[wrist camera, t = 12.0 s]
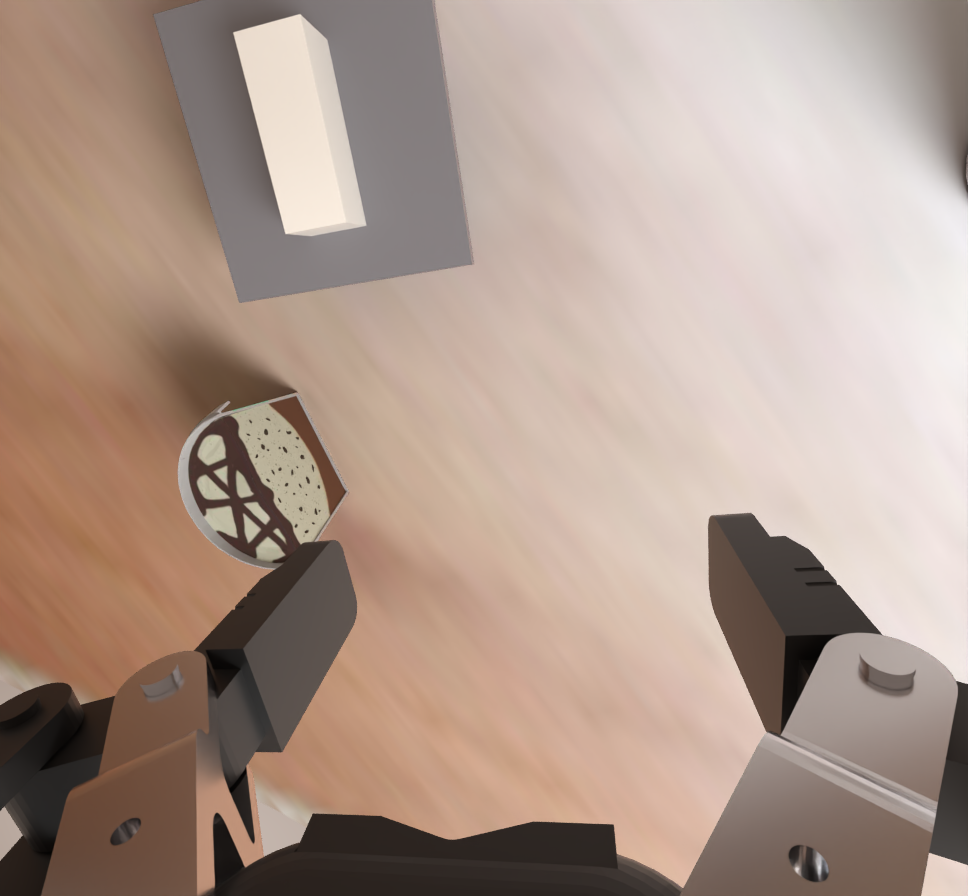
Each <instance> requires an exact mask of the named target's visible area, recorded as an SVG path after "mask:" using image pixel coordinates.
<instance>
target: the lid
mask: <svg viewBox="0 0 968 896" xmlns="http://www.w3.org/2000/svg"><path fill="white" fill-rule="evenodd" d="M153 16H154V19H155V22H156V26H157V29H158V32H159V36H160V39H161V43H162V46H163V49H164V53H165V56H166V59H167V63H168V66H169V69H170V73H171V76H172V79H173V83H174V86H175V89H176V93H177V96H178V99H179V103H180V106H181V109H182V113H183V116H184V119H185V123H186V126H187V129H188V133H189V136H190V140H191V143H192V146H193V150H194V153H195V156H196V160H197V163H198V166H199V170H200V173H201V176H202V180H203V183H204V186H205V190H206V193H207V196H208V200H209V203H210V206H211V210H212V213H213V216H214V220H215V223H216V227H217V230H218V233H219V237H220V240H221V243H222V247H223V250H224V253H225V257H226V260H227V263H228V267H229V270H230V273H231V277H232V280H233V283H234V287H235V290H236V293H237V297H238V300H239V303H242V302H249V301H255V300H261V299H267V298H273V297H279V296H285V295H291V294H297V293H303V292H309V291H316V290H322V289H328V288H334V287H340V286H346V285H352V284H358V283H364V282H370V281H376V280H382V279H388V278H394V277H400V276H406V275H412V274H418V273H424V272H430V271H436V270H442V269H448V268H454V267H460V266H466V265H472V264H474V260H473V253H472V246H471V240H470V233H469V227H468V220H467V213H466V207H465V200H464V193H463V187H462V180H461V173H460V167H459V160H458V154H457V147H456V140H455V134H454V127H453V120H452V114H451V107H450V100H449V94H448V87H447V81H446V74H445V67H444V61H443V54H442V47H441V41H440V34H439V27H438V21H437V14H436V8H435V1H434V0H201V1H198V2H194V3H191V4H188V5H184V6H181V7H177V8H174V9H170V10H167V11H163V12H160V13H157V14H153Z"/></svg>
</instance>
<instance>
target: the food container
mask: <svg viewBox="0 0 968 896" xmlns="http://www.w3.org/2000/svg"><path fill="white" fill-rule="evenodd" d="M229 403H230V401H227V402H225V403H223V404H222V405H220V406H218V407H217V408H216V409H214V410H213V411H212V412H211V413H210V414H208V415H207V416H206V417H205V418H204V419H203V420H202V421H200V422H199V423H198V424H197V426H196V427H195V428H194V429H193V430H192V432H191V433H190V435H189V437H188V439H187V440H186V442H185V444H184V446H183V448H182V451H181V455H180V458H179V464H178V484H179V488H180V493H181V497H182V499H183V502H184V505H185V507H186V509H187V511H188V513H189V515H190V517H191V518H192V520H193V521H194V523H195V524H196V526H197V527H198V528H199V530H200V531H201V532H202V533H203V534H204V535H205V536H206V537H207V539H208V540H209V541H211V542H212V543H213V544H214V545H215V546H216V547H218V548H219V549H220V550H222V551H223V552H225V553H226V554H228V555H229V556H231V557H233V558H235V559H237V560H239V561H241V562H243V563H246V564H249V565H252V566H255V567H260V568H264V569H274V570H275V569H276V568H278V567H279V566H281V565H282V564H283V563H284V562H285V561H286V560H287V559H288V558H289V557H290V556H291V555H292V553H293V552H294V551H295V550H296V549H297V548H298V547H299V546H300V545H301V544H302V543H304V542H316V541H318V539H319V538H320V536H321V535H322V533H323V532H324V530H325V529H326V527H327V526H328V524H329V523H330V521H331V520H332V518H333V517H334V515H335V513H336V512H337V510H338V509H339V507H340V506H341V504H342V503H343V501H344V500H345V498H346V497H347V495H348V494H349V491H348V489H347V487H346V485H345V483H344V481H343V479H342V477H341V475H340V473H339V471H338V469H337V467H336V465H335V463H334V461H333V460H332V458H331V456H330V454H329V452H328V450H327V448H326V446H325V444H324V442H323V440H322V438H321V436H320V434H319V432H318V430H317V428H316V426H315V424H314V423H313V421H312V419H311V417H310V415H309V413H308V411H307V409H306V407H305V405H304V403H303V401H302V399H301V397H300V395H299V393H298V392H296V393H293V394H289V395H285V396H282V397H278V398H275V399H271V400H267V401H264V402H260V403H257V404H253V405H249V406H246V407H242V408H239V409H235V410H232V411H228V412H224V413H221V411H222V410H223V409H224V408H225V407H226V406H227V405H228V404H229Z"/></svg>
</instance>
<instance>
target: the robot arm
mask: <svg viewBox="0 0 968 896" xmlns="http://www.w3.org/2000/svg"><path fill="white" fill-rule="evenodd" d="M966 179H967V183H968V154H967V160H966ZM708 549H709V590H710V597H711V602H712V606H713V610H714V613H715V615H716V618H717V620H718V622H719V624H720V627H721V629H722V631H723V634H724V636H725V638H726V640H727V643H728V645H729V647H730V650H731V652H732V654H733V657H734V659H735V661H736V663H737V666H738V668H739V670H740V673H741V675H742V677H743V679H744V682H745V684H746V686H747V689H748V691H749V693H750V695H751V698H752V700H753V702H754V705H755V707H756V709H757V711H758V714H759V716H760V718H761V721H762V723H763V725H764V727H765V730H766V732H767V733H766V734H765V735H764V736H763V738H762V739H761V741H760V743H759V744H758V746H757V748H756V750H755V752H754V754H753V756H752V758H751V760H750V762H749V763H748V765H747V767H746V769H745V771H744V773H743V775H742V777H741V779H740V781H739V783H738V785H737V786H736V788H735V790H734V792H733V794H732V796H731V798H730V800H729V802H728V804H727V806H726V808H725V809H724V811H723V813H722V815H721V817H720V819H719V821H718V823H717V825H716V827H715V829H714V831H713V832H712V834H711V836H710V838H709V840H708V842H707V844H706V846H705V848H704V850H703V852H702V854H701V855H700V857H699V859H698V861H697V863H696V865H695V867H694V869H693V871H692V873H691V875H690V877H689V878H688V880H687V882H686V884H685V886H684V888H682V887H680V886H679V885H678V884H676V883H675V882H673V881H672V880H670V879H668V878H667V877H665V876H664V875H662V874H660V873H659V872H657V871H656V870H653V869H651V868H649V867H647V866H645V865H643V864H641V863H639V862H637V861H635V860H632V859H629V858H626V857H624V856H621V855H618V854H617V853H616V843H615V833H614V825H611V824H584V823H556V822H530V823H526V824H521V825H517V826H513V827H509V828H504V829H500V830H496V831H492V832H487V833H483V834H479V835H475V836H471V837H466V838H462V839H457V840H448V839H444V838H441V837H438V836H435V835H432V834H430V833H427V832H424V831H421V830H418V829H416V828H413V827H410V826H407V825H404V824H402V823H399V822H396V821H393V820H390V819H388V818H385V817H382V816H365V815H338V814H312V817H311V819H310V821H309V823H308V826H307V828H306V830H305V832H304V835H303V837H302V839H301V841H300V843H296V844H293V845H291V846H288V847H285V848H282V849H280V850H277V851H275V852H273V853H271V854H269V855H267V856H265V857H264V855H263V846H262V838H261V831H260V823H259V817H258V808H257V800H256V793H255V785H254V777H253V773H252V770H251V768H250V766H249V761H250V760H251V758H252V756H253V755H254V753H255V752H283V750H284V748H285V746H286V745H287V743H288V741H289V739H290V737H291V736H292V734H293V732H294V730H295V729H296V727H297V725H298V723H299V721H300V720H301V718H302V716H303V714H304V713H305V711H306V709H307V707H308V705H309V704H310V702H311V700H312V698H313V697H314V695H315V693H316V691H317V689H318V688H319V686H320V684H321V682H322V681H323V679H324V677H325V675H326V673H327V672H328V670H329V668H330V666H331V665H332V663H333V661H334V659H335V657H336V656H337V654H338V652H339V650H340V649H341V647H342V645H343V643H344V641H345V640H346V638H347V636H348V634H349V633H350V631H351V629H352V627H353V625H354V623H355V619H356V614H357V601H356V595H355V592H354V588H353V585H352V581H351V577H350V574H349V570H348V566H347V563H346V559H345V556H344V552H343V549H342V547H341V545H340V543H339V542H338V541H336V540H330V541H316V542H304V543H302V544H301V545H300V546H299V547H298V548H297V549H296V550H295V551H294V552H293V553H292V555H291V556H290V557H289V558H288V559H287V560H286V561H285V562H284V563H283V564H282V565H281V566H279V567H278V568H276V569H275V570H273V571H272V572H270V573H269V574H267V575H266V576H264V577H263V578H261V579H260V581H259V582H258V583H257V584H256V585H255V586H254V587H253V588H252V589H251V590H250V591H249V592H248V593H247V597H244V598H243V599H242V600H241V601H240V602H239V603H238V604H237V605H236V606H235V610H231V612H230V613H229V614H228V615H227V616H226V617H225V618H224V619H223V620H222V621H221V622H220V623H219V624H218V625H217V627H216V628H215V629H214V630H213V631H212V632H211V633H210V634H209V635H208V636H207V637H206V638H205V639H204V640H203V642H202V643H201V644H200V645H199V646H198V647H197V648H196V649H195V650H194V651H183V652H178V653H174V654H171V655H168V656H165V657H163V658H160V659H158V660H156V661H154V662H152V663H150V664H148V665H147V666H145V667H144V668H142V669H140V670H139V671H138V672H136V673H135V674H134V675H133V676H131V677H130V678H129V679H128V680H127V681H126V682H125V683H124V684H123V685H122V686H121V688H120V689H119V690H118V692H117V694H116V695H115V696H113V697H109V698H105V699H101V700H97V701H94V702H90V703H86V704H82V705H80V703H79V701H78V700H77V698H76V696H75V694H74V692H73V690H72V688H71V687H70V685H68V684H66V683H51V684H46V685H42V686H39V687H36V688H33V689H31V690H28V691H26V692H24V693H22V694H20V695H18V696H16V697H14V698H12V699H10V700H8V701H7V702H5V703H3V704H2V705H0V810H1V809H2V808H3V807H4V806H5V808H6V809H7V811H8V813H9V814H10V815H11V817H12V819H13V820H14V822H15V823H16V825H17V826H18V828H19V830H20V831H21V833H22V834H23V836H22V837H21V838H20V839H19V840H18V842H17V843H16V844H15V845H14V846H13V847H12V848H11V850H10V851H9V852H8V853H7V854H6V855H5V856H4V857H3V859H2V860H1V861H0V896H921V893H922V887H923V882H924V876H925V871H926V866H927V860H928V855H929V853H932V854H935V855H938V856H941V857H945V858H948V859H951V860H954V861H957V862H960V863H963V864H967V865H968V684H965V683H961V682H958V681H956V680H955V678H954V677H953V675H952V674H951V672H950V671H949V670H948V669H947V668H946V667H945V666H944V665H943V664H942V663H941V662H940V661H939V660H937V659H936V658H935V657H933V656H932V655H930V654H929V653H927V652H925V651H924V650H922V649H920V648H918V647H916V646H914V645H912V644H909V643H907V642H904V641H901V640H899V639H896V638H892V637H888V636H884V635H882V634H881V633H880V632H879V630H878V629H877V628H876V627H875V626H874V625H873V623H872V622H871V621H870V620H869V619H868V618H867V616H866V615H865V614H864V613H863V612H862V611H861V609H860V608H859V607H858V606H857V605H856V604H855V602H854V601H853V600H852V599H851V598H850V597H849V595H848V594H847V593H846V592H845V591H844V590H843V588H842V587H841V586H840V585H837V583H836V580H835V579H834V578H833V577H832V576H831V574H830V573H829V572H828V571H827V570H824V566H823V565H822V564H821V563H820V562H819V560H818V559H817V558H816V557H815V556H814V555H813V554H812V552H811V551H810V550H809V549H807V548H805V547H804V546H802V545H800V544H798V543H796V542H795V541H793V540H791V539H789V538H788V537H786V536H777V537H770V536H769V535H768V533H767V532H766V531H765V529H764V528H763V527H762V526H761V524H760V523H759V522H758V520H757V519H756V518H755V516H754V515H753V514H752V513H742V514H727V515H713V516H710V518H709V524H708Z"/></svg>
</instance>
